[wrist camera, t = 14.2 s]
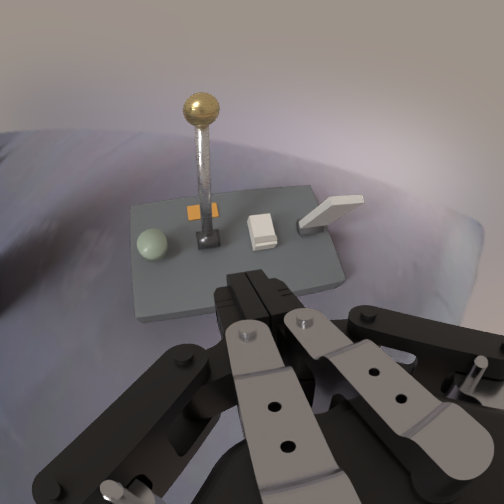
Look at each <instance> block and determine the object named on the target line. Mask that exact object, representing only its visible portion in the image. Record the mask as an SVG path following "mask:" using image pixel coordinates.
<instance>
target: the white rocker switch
mask: <svg viewBox="0 0 504 504" xmlns="http://www.w3.org/2000/svg"><path fill="white" fill-rule="evenodd" d="M247 224H248V228H249V233H250V238H251V242H252V247H253V251H257V250H263V249H270V248H274V247H275V246H276V244H277V236H276V235H275V232H274V228H273V223H272V219H271V215H270V213H268V214H260V215H251V216H249V218H248V220H247Z"/></svg>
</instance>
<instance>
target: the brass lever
mask: <svg viewBox="0 0 504 504" xmlns="http://www.w3.org/2000/svg"><path fill="white" fill-rule="evenodd" d="M219 110H220V107H219V103H218V101H217V99H216V98H215V97H214V96H212V95H211V94H208V93H204V92H202V93H201V92H200V93H196V94H193V95H192V96H190V97H189V98H188V99H187V100H186V102H185V104H184V107H183V114H184V117H185V119H186V120H187V121H188V122H189V123H190V124H192V125H194V126H195V145H196V163H197V179H198V193H199V205H200V217H201V229H202V231H198V232H196V238H197V245H198V250H203V249H210V248H217V247H221V242H220V234H219V230H218V229H213V220H212V201H211V179H210V150H209V125H210V124H211V123H213V122H214V121H215V120H216V118H217V117H218V114H219Z"/></svg>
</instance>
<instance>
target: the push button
mask: <svg viewBox="0 0 504 504" xmlns="http://www.w3.org/2000/svg"><path fill="white" fill-rule="evenodd" d="M137 248H138V250H139V252H140V254H141V256H142V257H143V258H144V259H145V260H147V261H151V262H154V261H158V260H160V259H162V258H163V257H164V256H165V255H166V253H167V251H168V243H167V240H166V236H165V234H164V233H163V232H162V231H161V230H159V229H154V228H152V229H147V230H145V231H144V232H142V233H141V234H140V236H139V237H138V240H137Z"/></svg>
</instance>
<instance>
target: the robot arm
mask: <svg viewBox="0 0 504 504" xmlns="http://www.w3.org/2000/svg"><path fill="white" fill-rule="evenodd" d="M226 280H227V286H224V287H218V288H216V290H215V292H214V294H213V296H214V303H215V310H216V316H217V323H218V327H219V331H220V334H221V338H222V340H221V341H220V342H219V343H218V344H217V345H215V346H213V347H211V348H209V349H207V350H205V349H203V348H202V347H200V346H198V345H195V344H181V345H177V346H174V347H172V348H170V349H169V350H167V351H166V352H165V353H164V354H163V355H162V356H161V357H160V358H159V359H158V360H157V361H156V362H155V363H154V364H153V365H152V366H151V367H150V368H149V369H148V370H147V371H146V372H145V373H144V374H142V375H141V376H140V377H139V378H138V379H137V380H136V381H135V382H134V383H133V384H132V385H131V386H130V387H129V388H128V389H127V390H126V391H125V392H124V393H123V394H122V395H121V396H120V397H119V398H118V399H117V400H116V401H115V402H114V403H112V404H111V405H110V406H109V407H108V408H107V409H106V410H105V411H104V412H103V413H102V414H101V415H100V416H99V417H98V418H97V419H96V420H95V421H94V422H93V423H92V424H91V425H89V426H88V427H87V428H86V429H85V430H84V431H83V432H82V433H81V434H80V435H79V436H78V437H77V438H76V439H75V440H74V441H73V442H72V443H71V444H69V445H68V446H67V447H66V448H65V449H64V450H63V451H62V452H61V453H60V454H59V455H58V456H57V457H56V458H55V459H53V460H52V461H51V462H50V463H49V464H48V465H47V466H46V467H45V468H44V469H43V470H42V471H41V472H39V473H38V475H37V476H36V477H35V479H34V481H33V485H32V494H33V498H34V500H35V502H36V504H166V503H165V502H164V501H163V500H162V499H161V498H162V497H163V496H164V495H165V493H166V492H167V491H168V490H169V488H170V487H171V486H172V484H173V483H174V482H175V480H176V479H177V478H178V476H179V475H180V474H181V472H182V471H183V470H184V468H185V467H186V466H187V464H188V463H189V462H190V460H191V459H192V457H193V456H194V455H195V453H196V452H197V450H198V449H199V448H200V446H201V445H202V443H203V442H204V441H205V439H206V438H207V436H208V435H209V433H210V432H211V430H212V429H213V427H214V426H215V425H216V423H217V422H218V420H219V418H220V415H221V412H223V411H225V410H227V409H229V408H231V407H233V406H235V405H237V408H238V413H239V418H240V423H241V428H242V432H243V437H244V440H242V441H240V442H239V443H237V444H235V445H234V446H233V447H232V448H230V449H229V450H228V451H227V452H226V453H225V454H224V455H222V457H221V458H220V459H219V460H218V461H217V463H216V464H215V466H214V467H213V469H212V471H211V472H210V474H209V476H208V477H207V479H206V480H205V482H204V484H203V485H202V487H201V488H200V490H199V492H198V493H197V495H196V496H195V498H194V499H193V501H192V503H191V504H504V336H503V335H497V334H492V333H488V332H483V331H478V330H474V329H469V328H465V327H460V326H456V325H451V324H447V323H442V322H438V321H433V320H429V319H425V318H420V317H416V316H412V315H408V314H403V313H399V312H395V311H391V310H387V309H383V308H378V307H374V306H369V305H362V306H357V307H354V308H353V309H351V310H350V312H349V316H348V319H345V320H329V319H328V318H326V317H325V316H324V315H323V314H322V313H321V312H319V311H317V310H314V309H310V308H305V307H304V306H303V304H302V303H301V302H300V301H299V300H298V298H297V297H296V296H295V295H294V294H293V292H292V291H291V290H290V289H289V288H288V286H287V285H286V284H285V283H284V282H283V281H281V280H279V279H277V278H270V279H269V278H268V277H267V276H266V274H265V273H264V272H263V270H262V269H257V270H251V271H245V272H239V273H233V274H227V275H226ZM381 345H382V346H385V347H389V348H393V349H397V350H400V351H404V352H408V353H412V354H414V355H415V356H416V359H415V361H414V362H413V363H411V364H402V363H399V362H395V361H394V360H393V359H392V358H391V357H389V356H388V355H387V354H386V353H385V352H384V351H383V350H381V349H380V346H381Z"/></svg>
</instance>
